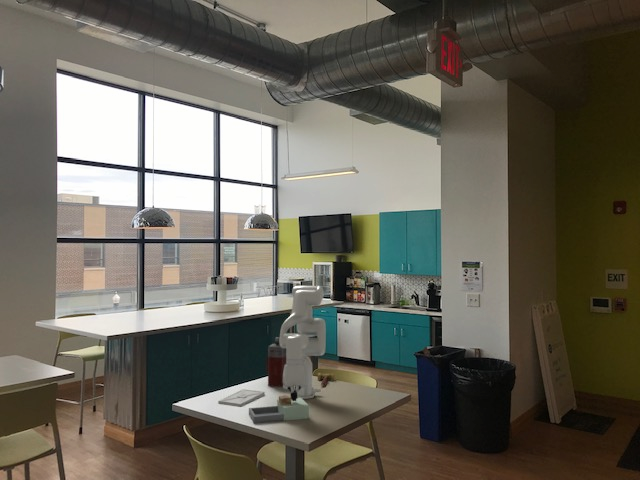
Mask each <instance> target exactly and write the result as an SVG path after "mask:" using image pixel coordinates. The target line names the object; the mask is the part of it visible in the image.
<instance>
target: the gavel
mask: <svg viewBox="0 0 640 480" xmlns="http://www.w3.org/2000/svg"><path fill="white" fill-rule="evenodd" d="M321 379H323V380H321ZM331 380H334V381H335V373H322V372H318V373H317V381H321V382H320V386H321V388H324V387H325V386H326V384H327V381H331ZM323 386H324V387H323Z"/></svg>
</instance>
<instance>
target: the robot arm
mask: <svg viewBox="0 0 640 480" xmlns="http://www.w3.org/2000/svg"><path fill="white" fill-rule="evenodd" d="M291 291H292V292H291V293H292V298H293V299H292V307H291V315H290V316H288V318H286V319H285V320H284V322H283V323H282V324H281V327H280V333H279V337H280V338H279V343H280V346H281V347H282V348H286V364H285V366H284V372H283V384H284V385H283V387H282V388H283V389H284V390H288V391H289V392H290V397H291V399H292V401H296V399H297V398H302V399H303V400H308V399H312V398H315V397H316V393H321V391H322V389H321V388H320V387H319V388H317V387H313V362H312V360H311V358H310V357H309V356H312V357H313V356H315V357H319V356H321V357H322V356H324V354H325V353H326V345H327V344H326V340H327V338H326V335H327V334H326V332H327V330H326V329H327V328H326V327H327V326H326V321H325V319H324V318H320V317H313V313H314V312H313V310H314V309H313V307H317V306H318V307H319V306H320V305H321V303H322V301H323V299H324V295H325V294H324V288H323V286H322V285H321V286H320V285H296V286H294V287H292V290H291ZM294 326H296V333H295V332H293V333H292V332H288V330H289V329H290V328H292V327H294ZM308 336H316V337H308ZM314 396H315V397H314Z"/></svg>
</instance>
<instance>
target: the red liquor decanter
mask: <svg viewBox="0 0 640 480" xmlns="http://www.w3.org/2000/svg"><path fill="white" fill-rule="evenodd" d="M279 338H280V336H279V337H278V336H276V337H275V339H274V343H272V344H270V345H268V347H267V348H268V349H267V351H268V352H267V353H268V354H267V357H266V360H265V361H266V363H265V364H266V367H265V369H266V370H265V372H266V373H267V386H268V387H280V388H281V387H282V388H283V385H284V384H283V372H284V366H285V364H286V348H282V347H281V346H280V343H279Z"/></svg>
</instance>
